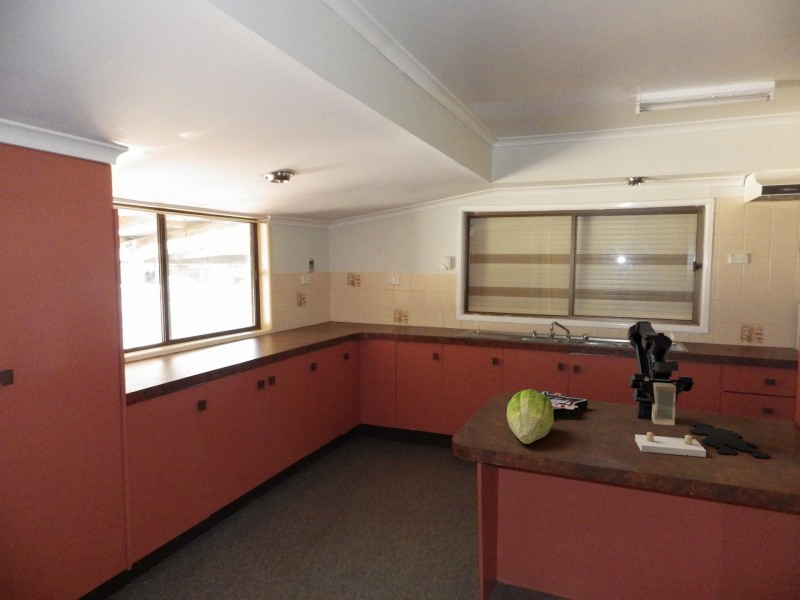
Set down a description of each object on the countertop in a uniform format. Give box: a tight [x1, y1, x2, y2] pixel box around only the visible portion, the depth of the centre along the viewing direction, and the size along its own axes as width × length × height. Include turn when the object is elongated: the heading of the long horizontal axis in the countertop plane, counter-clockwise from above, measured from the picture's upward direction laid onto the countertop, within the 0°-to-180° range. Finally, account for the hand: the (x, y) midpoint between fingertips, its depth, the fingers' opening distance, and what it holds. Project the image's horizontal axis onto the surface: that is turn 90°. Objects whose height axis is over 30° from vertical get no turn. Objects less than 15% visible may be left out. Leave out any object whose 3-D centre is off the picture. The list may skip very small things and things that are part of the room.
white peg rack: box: [634, 431, 707, 458], centre depth 158 cm, size 10×18×4 cm, turn 75°
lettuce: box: [506, 388, 555, 445], centre depth 170 cm, size 15×24×16 cm
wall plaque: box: [518, 390, 589, 420], centre depth 199 cm, size 28×4×30 cm
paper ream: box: [651, 383, 676, 426], centre depth 165 cm, size 4×6×13 cm
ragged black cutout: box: [688, 422, 771, 460], centre depth 166 cm, size 16×1×30 cm
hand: (664, 404), depth 164 cm, fingers closed on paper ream, 6 cm apart
